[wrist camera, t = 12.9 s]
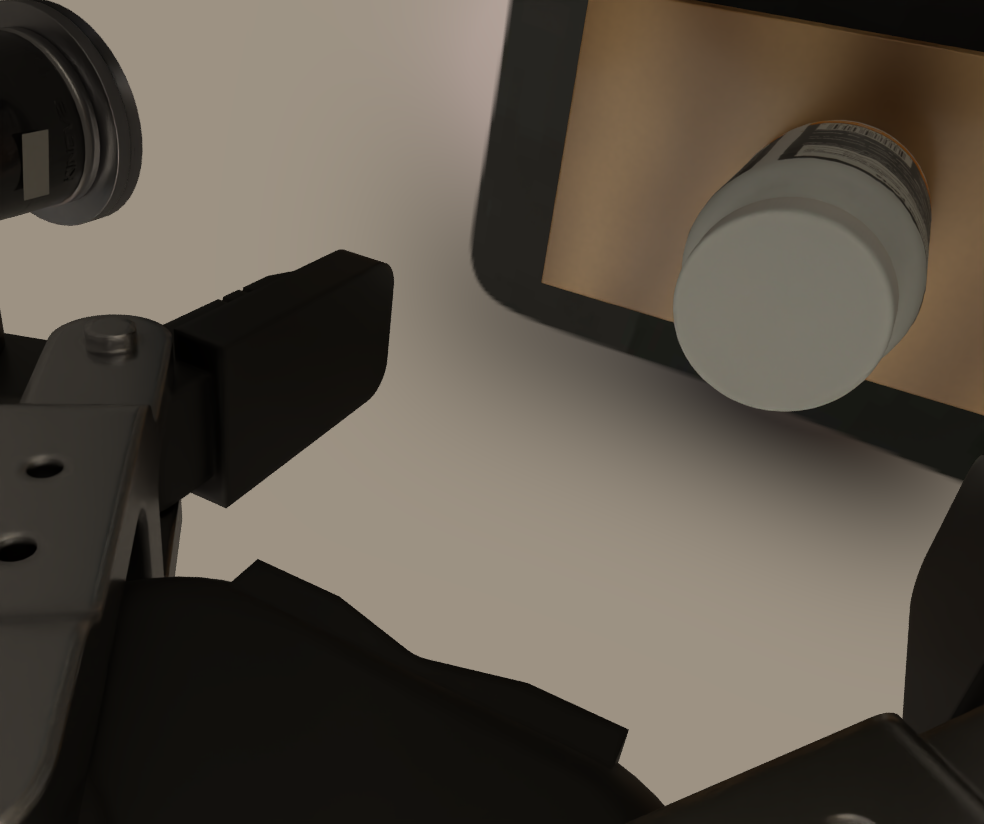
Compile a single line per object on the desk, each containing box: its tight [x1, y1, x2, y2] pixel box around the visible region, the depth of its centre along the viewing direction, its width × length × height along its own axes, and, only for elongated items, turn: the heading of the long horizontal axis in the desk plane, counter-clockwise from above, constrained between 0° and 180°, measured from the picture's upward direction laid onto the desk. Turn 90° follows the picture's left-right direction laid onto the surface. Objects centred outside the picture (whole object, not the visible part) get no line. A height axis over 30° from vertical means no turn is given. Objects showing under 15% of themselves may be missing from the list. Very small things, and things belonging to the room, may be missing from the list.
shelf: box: [542, 0, 984, 415], centre depth 30 cm, size 18×10×7 cm, turn 80°
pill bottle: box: [673, 120, 932, 411], centre depth 23 cm, size 6×6×10 cm
